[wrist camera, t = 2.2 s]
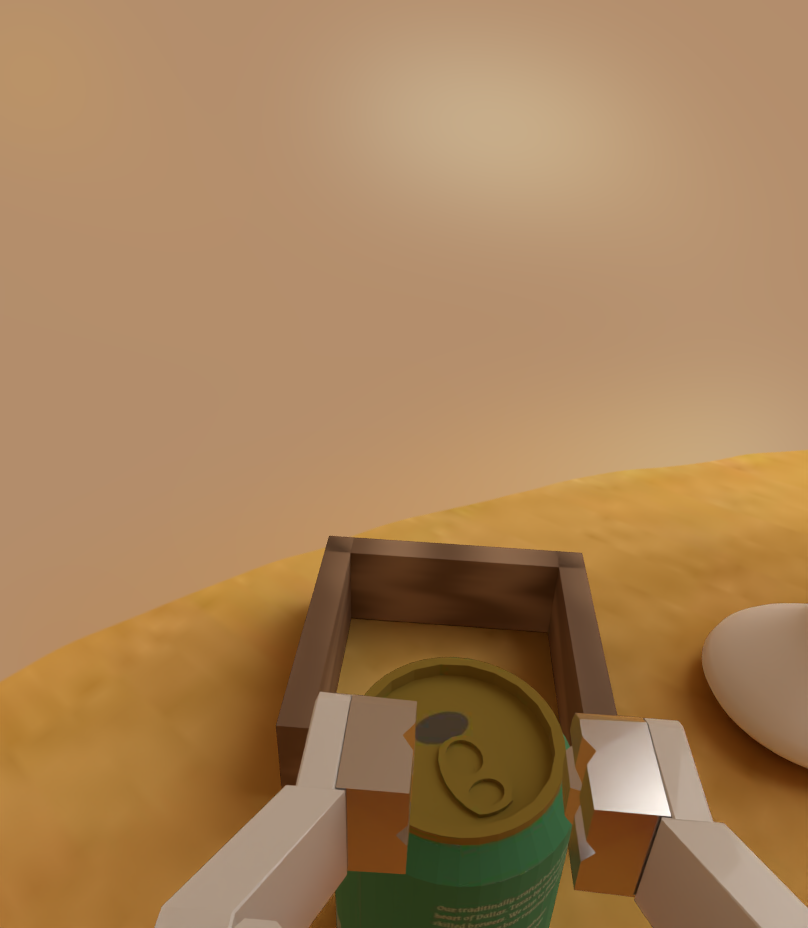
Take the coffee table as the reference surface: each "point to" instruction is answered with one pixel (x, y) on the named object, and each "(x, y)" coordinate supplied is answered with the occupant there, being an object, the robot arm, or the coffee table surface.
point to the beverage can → (471, 806)
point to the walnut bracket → (445, 617)
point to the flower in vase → (763, 675)
